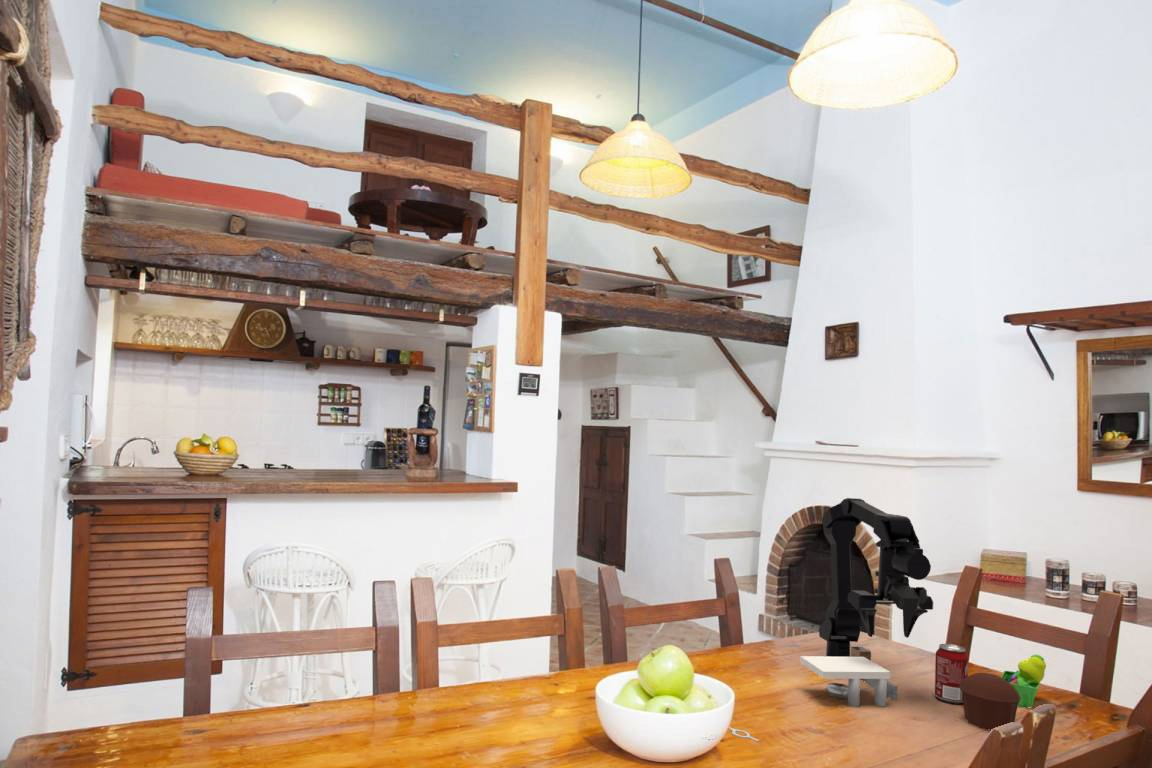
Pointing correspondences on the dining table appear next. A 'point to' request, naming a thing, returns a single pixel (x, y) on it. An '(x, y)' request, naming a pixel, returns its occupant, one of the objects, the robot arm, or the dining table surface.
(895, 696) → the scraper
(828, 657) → the low stand
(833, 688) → the token
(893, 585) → the robot arm
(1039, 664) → the green toy figure
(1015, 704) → the muffin
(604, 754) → the dining table surface
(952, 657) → the soda can
